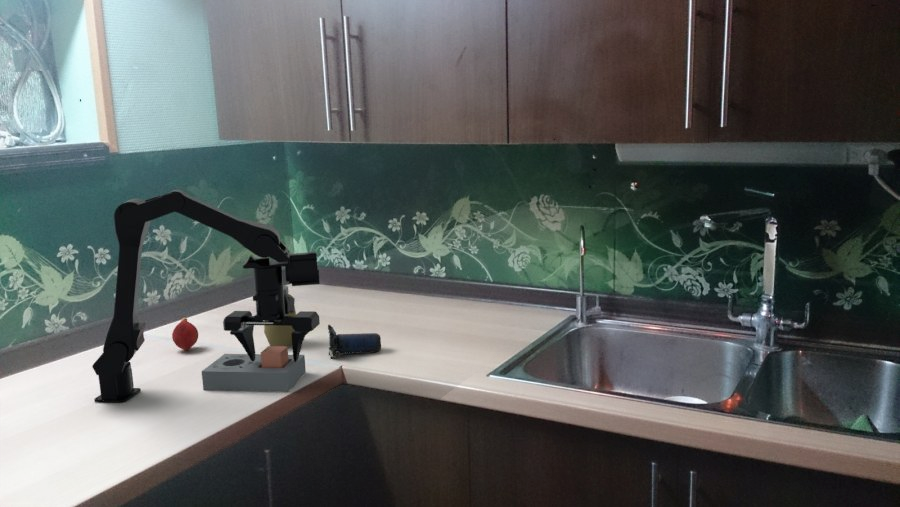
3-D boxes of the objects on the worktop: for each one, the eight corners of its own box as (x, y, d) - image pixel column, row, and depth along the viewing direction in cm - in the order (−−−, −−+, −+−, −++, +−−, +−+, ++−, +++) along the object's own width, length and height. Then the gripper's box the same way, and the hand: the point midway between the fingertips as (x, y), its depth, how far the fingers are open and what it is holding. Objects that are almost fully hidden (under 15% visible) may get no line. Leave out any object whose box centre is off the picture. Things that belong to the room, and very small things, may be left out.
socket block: (288, 391, 151) (286, 372, 150) (203, 389, 153) (201, 371, 152) (305, 372, 161) (304, 354, 161) (226, 371, 164) (224, 353, 163)
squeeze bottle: (258, 348, 179) (252, 274, 176) (280, 338, 186) (275, 267, 183) (284, 352, 176) (278, 277, 172) (306, 342, 183) (301, 269, 179)
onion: (191, 354, 176) (188, 322, 174) (169, 354, 177) (165, 321, 176) (204, 347, 182) (200, 315, 180) (182, 346, 183) (179, 314, 181)
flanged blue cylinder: (330, 367, 169) (383, 363, 172) (331, 336, 166) (384, 332, 170) (325, 348, 177) (375, 344, 181) (325, 318, 174) (376, 315, 178)
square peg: (282, 385, 154) (280, 352, 153) (263, 385, 155) (260, 352, 154) (289, 378, 159) (287, 346, 157) (270, 377, 159) (268, 346, 158)
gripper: (325, 278, 159) (329, 349, 162) (241, 278, 162) (247, 348, 165) (308, 291, 149) (313, 366, 152) (218, 291, 151) (225, 365, 154)
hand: (274, 360), depth 156 cm, fingers open, 9 cm apart
